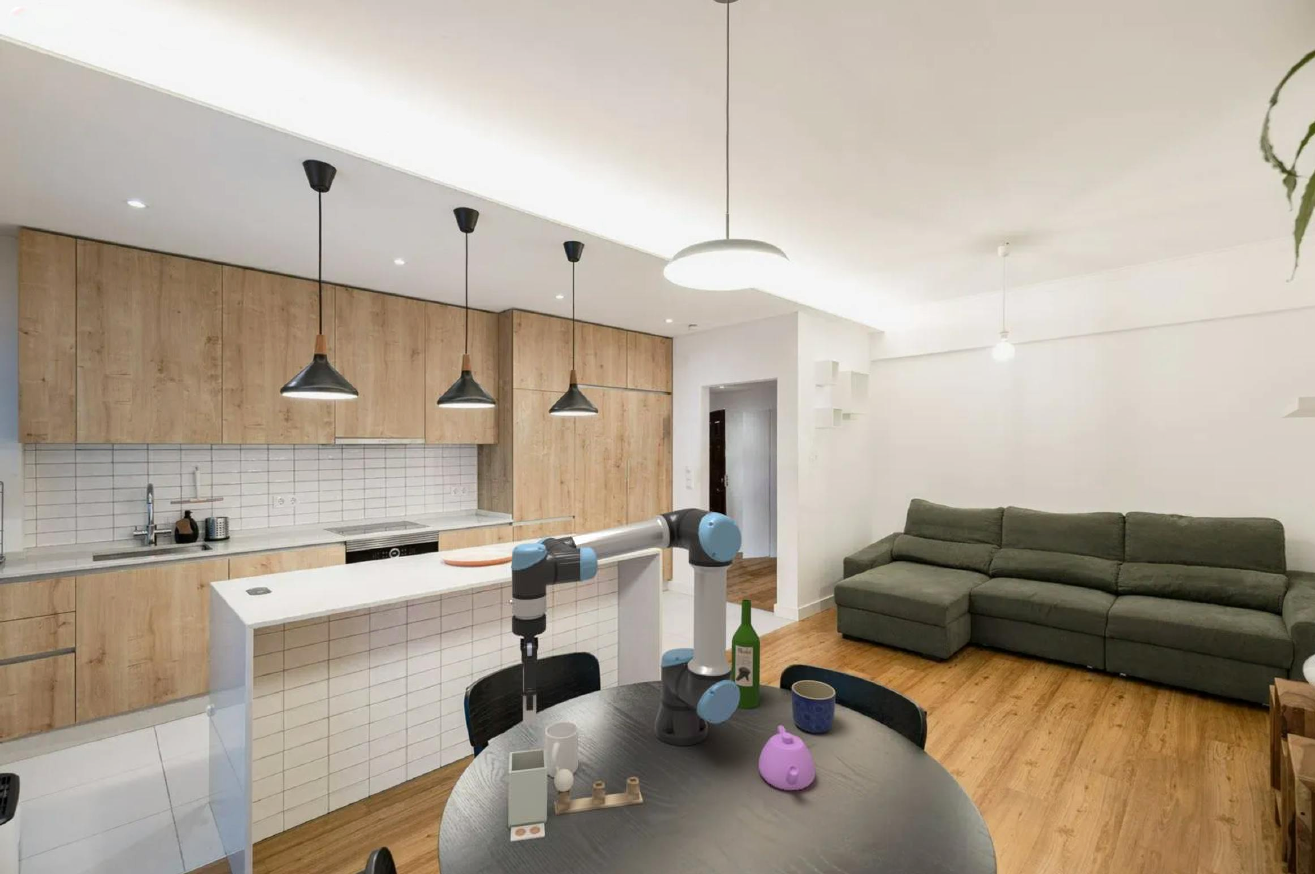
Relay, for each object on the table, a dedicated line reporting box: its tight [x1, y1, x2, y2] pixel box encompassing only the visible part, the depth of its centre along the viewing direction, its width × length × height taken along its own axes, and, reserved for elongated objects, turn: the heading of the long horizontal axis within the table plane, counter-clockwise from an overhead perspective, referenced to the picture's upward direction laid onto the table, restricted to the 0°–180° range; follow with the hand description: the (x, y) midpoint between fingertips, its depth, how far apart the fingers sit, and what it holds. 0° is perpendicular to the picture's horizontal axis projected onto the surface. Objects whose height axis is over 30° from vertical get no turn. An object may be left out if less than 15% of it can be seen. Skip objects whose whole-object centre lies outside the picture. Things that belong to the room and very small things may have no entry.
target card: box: [510, 823, 546, 842], centre depth 124 cm, size 7×4×1 cm, turn 103°
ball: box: [553, 769, 574, 791], centre depth 132 cm, size 4×4×4 cm
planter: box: [791, 679, 836, 734], centre depth 170 cm, size 12×12×11 cm
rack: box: [553, 776, 644, 816], centre depth 134 cm, size 20×4×4 cm, turn 103°
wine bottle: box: [730, 598, 761, 710], centre depth 185 cm, size 9×9×32 cm
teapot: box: [758, 725, 816, 791], centre depth 145 cm, size 14×20×11 cm
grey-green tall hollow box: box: [507, 748, 548, 829], centre depth 130 cm, size 8×8×12 cm
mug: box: [544, 720, 579, 778], centre depth 145 cm, size 12×8×10 cm
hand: (529, 708), depth 130 cm, fingers open, 13 cm apart
